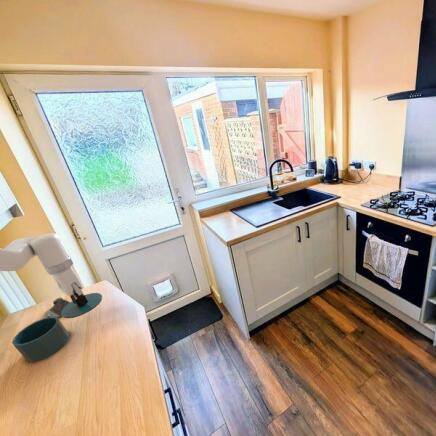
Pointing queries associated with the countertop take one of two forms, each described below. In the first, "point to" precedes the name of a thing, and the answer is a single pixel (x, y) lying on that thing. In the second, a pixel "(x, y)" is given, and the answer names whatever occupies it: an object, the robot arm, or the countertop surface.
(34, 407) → the countertop surface
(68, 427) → the countertop surface
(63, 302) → the chocolate cake
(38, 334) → the tin
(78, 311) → the lid
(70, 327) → the countertop surface
